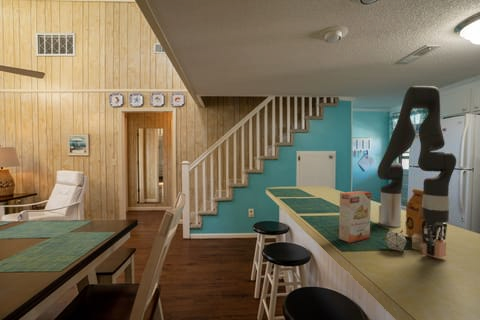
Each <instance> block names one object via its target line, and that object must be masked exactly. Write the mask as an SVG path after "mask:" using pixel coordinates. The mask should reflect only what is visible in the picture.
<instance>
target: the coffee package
mask: <svg viewBox="0 0 480 320" xmlns="http://www.w3.org/2000/svg"><path fill="white" fill-rule="evenodd" d="M411 192H412V193H413V194H412V195H411V197H410V198H409V200H408V201H407V203H406V205H405V206H406V209H405V210H406V211H405V213H406V214H405V219H406V220H405V224H404V225H405V235H407V236H408V237H409V238H411V239H412V236H413V235H414V234H420V235H422V227H423V228H426V224H427V221H426V220H425V219H423V218H422V199H423V190H420V189H416V188H414V189H412V190H411ZM432 236H433V235H432Z"/></svg>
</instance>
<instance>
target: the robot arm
mask: <svg viewBox="0 0 480 320" xmlns="http://www.w3.org/2000/svg"><path fill="white" fill-rule="evenodd" d="M439 90H440V89H438V87H436V86H433V85H432V86H431V85H429V86H428V85H413V86H410V87H408V88H407V90H406V92H405V94H404V97H403V101H402V105H401V109H400V111H399V114H398V115H399V116H398V117H397V118H398V119H397V121H396V124H395V126H394V129H393V131H392V133H391V137H390V139H389V142H388V145H387V146H386V151H385V152H384V155H383V157H382V159H381V160H380V162H379V164H378V167H377V172H376V173H377V178H379V179H380V180H385V181H390V182H389V183H388V184H385V185H383V186H381V187H380V205H379V206H378V223H379V224H381V225H382V226H387V227H393V228H397V227H399V228H400V227H401V226H402V190H403V181H404V168H403V165H402V164H401V163H400V162H395V161H396V160H397V159H398V158H399V157H401V156H403V154H405V153H406V152H407V151H409V150H410V149H411V147H412V145H413V143H414V140H415V138H416V135H417V134H416V133H417V132H416V130H415V126H414V124H413V121H412V118H411V113H412V111H413V109H416V110H418V109H420V110H422V109H423V110H425V109H426V110H427V115H426V117H425V119H424V120H423V121H422V123H421V124H420V125H419V128H418V139H419V142H420V150H419V156H418V161H417V166H418V167H419V169H420V170H421V171H424V172H437V173H439V172H440V173H439V174H438V175H436V176H434V177H428V178H425V179H424V180H423V186H422V187H423V188H422V191H423V199H422V218H423V219H425V220H426V221H427V224H426V228H423V227H422V238H423V243H426V244H427V249H426V253H427V254H428V255H427V256H429V255H431V256H430V257H432V256H434V255H435V241H436V240H440V241H445V240H446V236H447V230H448V224H447V223H448V222H449V221H450V218H449V217H450V198H449V189H450V188H449V185H450V181H451V179H452V175H453V173H454V171H455V168H456V165H457V158H456V156H455V155H454V154H453V153H452V152H449V151H439V150H441V149H443V148H444V146H445V144H446V143H445V142H446V141H445V139H444V138H445V137H444V135H443V134H444V133H443V131H442V130H443V129H442V125H441V124H442V123H441V97H440V95H441V94H440V91H439ZM432 235H433V236H432ZM432 239H433V240H432Z"/></svg>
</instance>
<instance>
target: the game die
mask: <svg viewBox="0 0 480 320" xmlns="http://www.w3.org/2000/svg"><path fill="white" fill-rule="evenodd" d="M386 230H387V232H386V235H385V236H384V238H382V241H384V242H385V244H386V246H387V251H388V252H389V251H390V250H394V251H400V252H402V253H403V254H404V253H405V251H404V249H405V248H406V245H407V243H410V241H409V240H407V239H406V237H405V235H404V234H403V232H404V230H401V231H395V230H389V229H388V228H387V229H386Z"/></svg>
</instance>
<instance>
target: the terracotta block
mask: <svg viewBox="0 0 480 320" xmlns="http://www.w3.org/2000/svg"><path fill="white" fill-rule="evenodd" d="M432 240H433V239H432ZM426 249H427V244H426V243H423V251H422V254H423V255H425V256H430V257H433V258H434V259H435V258H436V259H442V258H444V257H446V255H447V254H446V253H447V242H446V241H445V240H443V241H440V240H436V241H435V255H434V256H431V255H428V254H427V253H426Z"/></svg>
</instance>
